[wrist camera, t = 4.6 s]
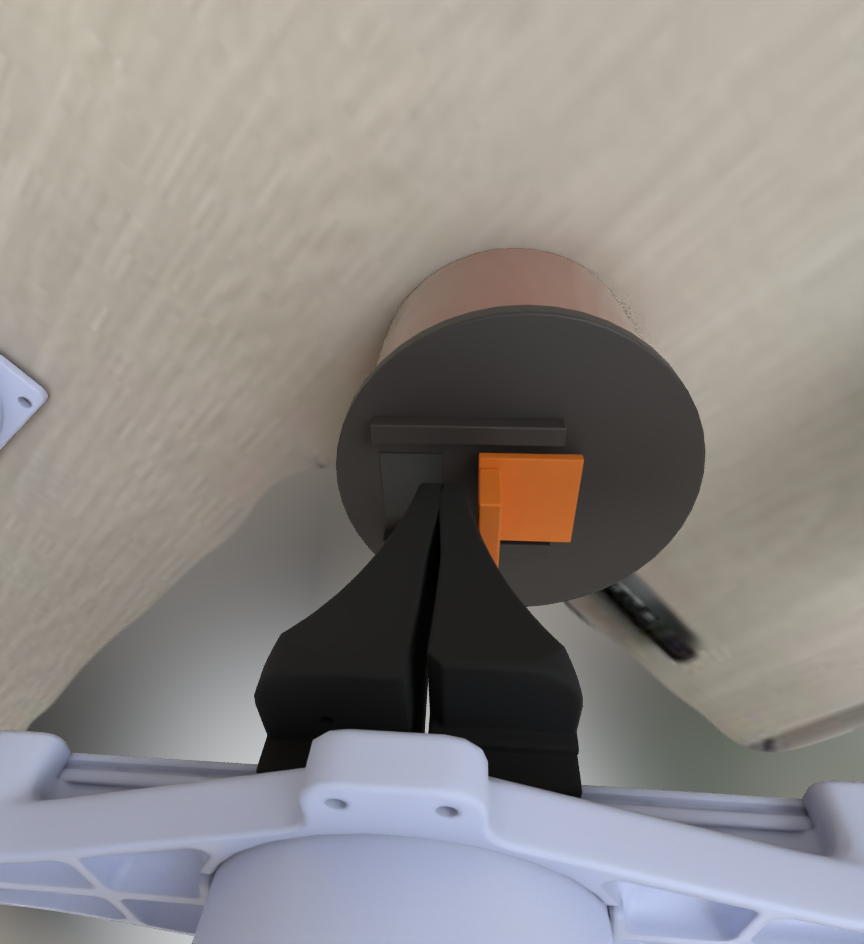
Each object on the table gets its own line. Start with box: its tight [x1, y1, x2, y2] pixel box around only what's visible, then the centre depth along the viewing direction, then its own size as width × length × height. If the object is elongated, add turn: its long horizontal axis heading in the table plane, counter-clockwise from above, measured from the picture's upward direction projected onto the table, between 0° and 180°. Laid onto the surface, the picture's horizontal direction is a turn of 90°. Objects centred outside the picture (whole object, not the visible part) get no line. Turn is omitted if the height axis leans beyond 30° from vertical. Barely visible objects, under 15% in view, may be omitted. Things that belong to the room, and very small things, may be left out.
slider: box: [477, 453, 584, 567], centre depth 15 cm, size 3×3×2 cm
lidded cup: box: [336, 248, 705, 607], centre depth 19 cm, size 11×11×8 cm
